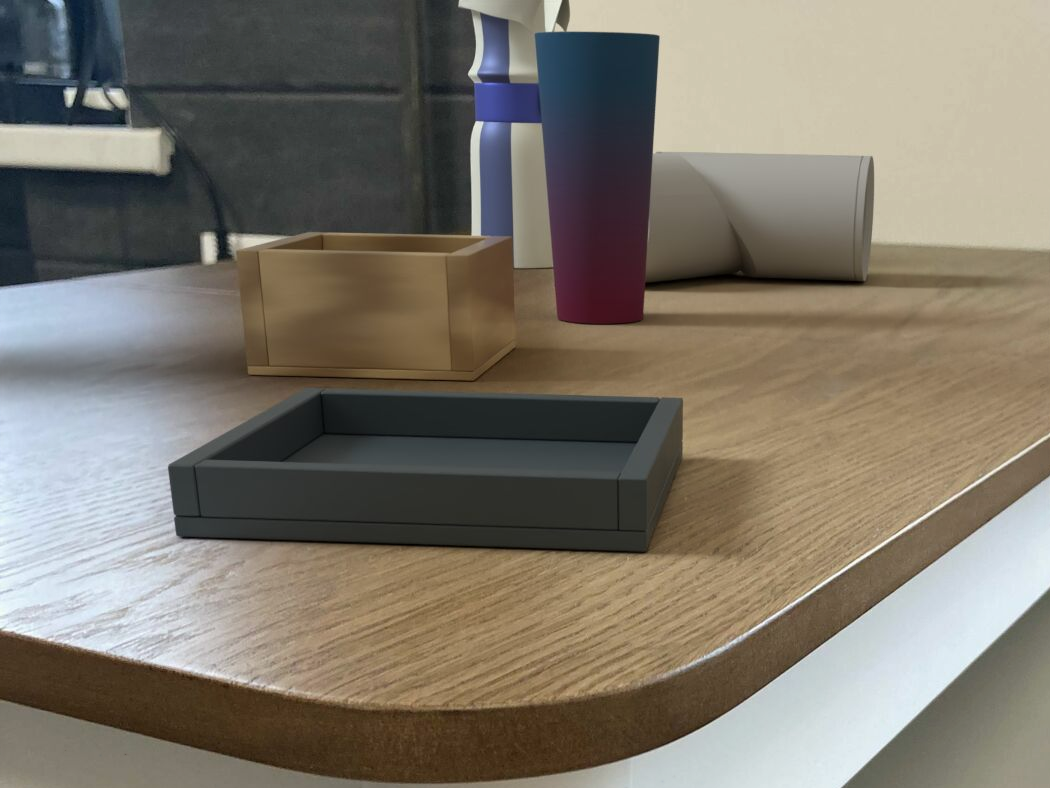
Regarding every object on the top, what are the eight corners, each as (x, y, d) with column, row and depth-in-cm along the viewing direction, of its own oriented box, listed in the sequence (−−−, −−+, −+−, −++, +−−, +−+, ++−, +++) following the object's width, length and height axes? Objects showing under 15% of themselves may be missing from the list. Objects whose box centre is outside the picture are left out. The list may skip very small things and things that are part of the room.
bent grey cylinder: (721, 243, 120) (539, 259, 106) (747, 103, 115) (558, 100, 101) (899, 314, 112) (726, 342, 98) (936, 166, 106) (759, 173, 92)
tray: (175, 536, 43) (166, 464, 43) (309, 445, 55) (304, 387, 54) (646, 552, 43) (646, 478, 42) (682, 456, 54) (683, 397, 53)
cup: (649, 310, 92) (650, 38, 86) (666, 325, 86) (668, 33, 80) (537, 310, 91) (530, 35, 85) (546, 326, 85) (539, 30, 79)
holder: (247, 374, 69) (235, 250, 67) (317, 341, 78) (307, 231, 76) (474, 380, 68) (468, 255, 66) (516, 346, 78) (512, 236, 75)
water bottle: (597, 261, 119) (593, -100, 110) (543, 270, 112) (533, -115, 102) (507, 255, 122) (495, -96, 113) (449, 264, 115) (431, -111, 105)
